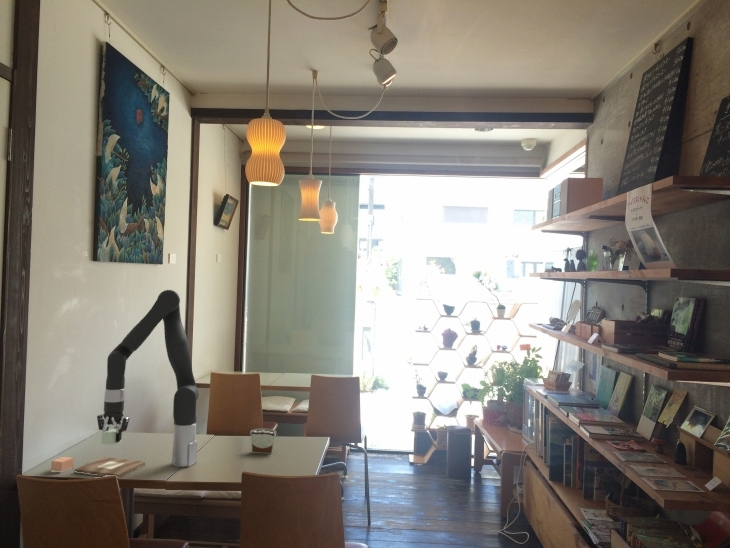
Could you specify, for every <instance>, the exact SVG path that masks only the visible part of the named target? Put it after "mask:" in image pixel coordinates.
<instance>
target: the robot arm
mask: <svg viewBox="0 0 730 548" xmlns="http://www.w3.org/2000/svg"><path fill="white" fill-rule="evenodd" d="M180 303H181V298H180V295H179V293H177V292H176V291H175V290H173V289H166V290H163V291H161V292H160V293H159V294H158V296H157V298H156V301H154V303H153V305H152V306H151V308H150V310H149V311H148V312H147V313H146V314H145V315H144V316H143V318H142V319H141V320H140V321H139V322H137V324H136V325H135V326H134V327H133V328H132V329H131V330H130V331H129V332H128V333H127V334H126V336H125V337H124V338H123V339H122V341H121V342H120V343H118V345H117V346H116V347H115V348H114V349H112V351H111V352H110V353H109V354H108V356H107V367H106V373H107V374H106V380H105V391H104V398H103V399H104V400H103V412H104V413H103V414H98V415H97V416H96V418H97V425H98V430H99V431H102V432H105V431H108V430H110V429H111V426H113V427H114V428H113V429H116V442H118V443H120V440H121V436H122V437H123V432H126V431H127V429H128V425H129V421H130V416H124V413H123V412H124V409H125V396H126V395H125V385H126V384H125V383H126V382H125V381H126V380H125V379H126V377H125V373H126V365H127V361H128V359H129V357H131V356H132V354H133V353H134V352H135V351H137V350H138V349H140V347H141V346H142V345H143V344H144V342H145V341H146V340H147V339H148V338H149V336H150V335H151V333H153V331H154V330H155V329H156V327H157V326H158V324H159V323H161V321H162V322H163V326H164V327H163V329H164V330H163V331H164V342H165V343H164V344H165V348H166V353H167V358H168V362H169V364H170V367H171V369H172V371H173V373H174V375H175V379H176V380H175V381H176V387H177V388H176V389H177V390H176V392H174V395H173V411H172V414H173V415H172V417H173V433H172V434H173V435H172V455H171V457H172V459H171V465H172V466H173V467H178V468H179V467H180V468H183V467H188V468H189V467H191V466H192V465H196V463H197V459H198V439H196V436H197V421H198V420H197V419H198V418H197V413H196V412H197V401H198V399H199V389H198V386H197V383H196V380H195V376H194V371H193V366H192V365H193V364H192V357H191V350H190V346H189V340H188V336H187V334H186V330H185V328H184V325H183V321H182V318H181V317H182V316H181V308H180Z"/></svg>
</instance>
